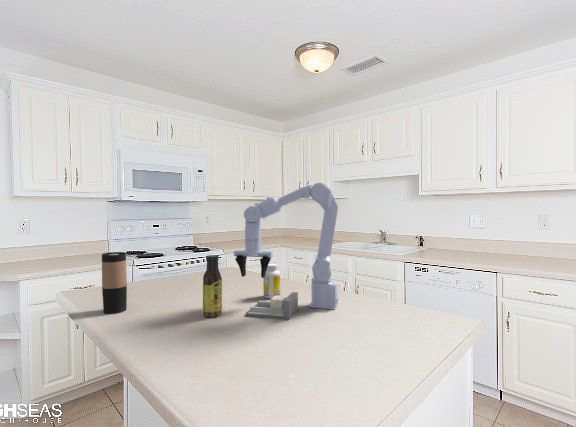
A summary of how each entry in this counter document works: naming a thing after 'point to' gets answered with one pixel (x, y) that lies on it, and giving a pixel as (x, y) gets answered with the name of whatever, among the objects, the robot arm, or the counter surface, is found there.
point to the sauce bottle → (212, 288)
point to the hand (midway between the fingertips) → (253, 276)
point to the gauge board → (266, 312)
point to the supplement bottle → (271, 281)
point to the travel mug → (114, 282)
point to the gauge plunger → (277, 302)
